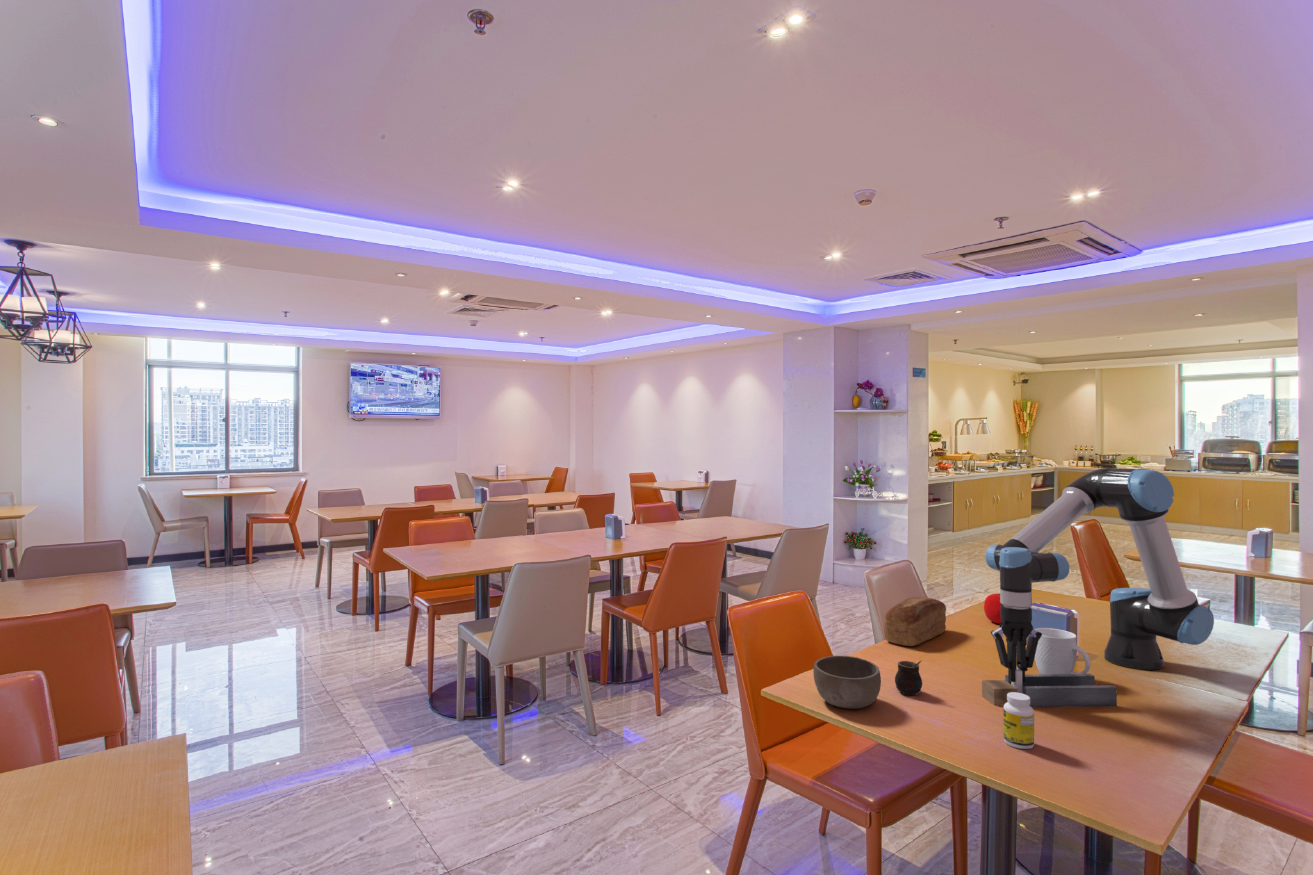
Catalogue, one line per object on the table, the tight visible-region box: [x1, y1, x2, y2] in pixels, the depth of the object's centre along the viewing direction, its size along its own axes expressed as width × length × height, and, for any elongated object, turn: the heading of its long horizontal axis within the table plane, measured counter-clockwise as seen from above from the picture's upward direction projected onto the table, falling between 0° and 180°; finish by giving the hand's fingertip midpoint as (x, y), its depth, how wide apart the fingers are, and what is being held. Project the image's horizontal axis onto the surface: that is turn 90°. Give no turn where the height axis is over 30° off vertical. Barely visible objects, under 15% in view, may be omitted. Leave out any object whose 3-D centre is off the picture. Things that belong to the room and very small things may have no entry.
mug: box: [1033, 627, 1091, 675], centre depth 192 cm, size 15×11×13 cm
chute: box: [1004, 673, 1118, 709], centre depth 177 cm, size 24×10×5 cm, turn 91°
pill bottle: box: [1003, 692, 1035, 750], centre depth 151 cm, size 6×6×11 cm
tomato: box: [983, 592, 1002, 625], centre depth 251 cm, size 13×14×12 cm
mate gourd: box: [894, 660, 923, 696], centre depth 182 cm, size 7×8×10 cm
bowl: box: [812, 655, 882, 710], centre depth 176 cm, size 17×18×10 cm
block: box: [981, 679, 1017, 706], centre depth 176 cm, size 6×6×4 cm
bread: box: [883, 596, 947, 647], centre depth 234 cm, size 12×31×14 cm, turn 134°
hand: (1016, 693), depth 176 cm, fingers closed
